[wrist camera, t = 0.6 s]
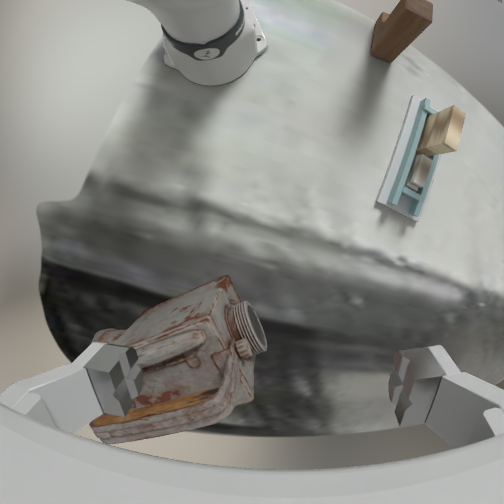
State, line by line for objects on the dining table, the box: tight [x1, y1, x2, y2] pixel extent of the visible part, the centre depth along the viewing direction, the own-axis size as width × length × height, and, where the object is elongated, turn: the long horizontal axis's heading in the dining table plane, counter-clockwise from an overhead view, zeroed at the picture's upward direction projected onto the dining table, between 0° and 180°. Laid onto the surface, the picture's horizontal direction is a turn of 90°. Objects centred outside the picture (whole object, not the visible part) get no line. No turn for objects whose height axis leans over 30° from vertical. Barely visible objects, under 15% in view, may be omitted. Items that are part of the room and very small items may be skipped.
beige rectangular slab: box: [416, 105, 466, 157], centre depth 43 cm, size 7×2×11 cm, turn 158°
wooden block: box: [371, 0, 433, 62], centre depth 37 cm, size 9×4×18 cm, turn 165°
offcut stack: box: [404, 154, 433, 191], centre depth 48 cm, size 6×2×4 cm, turn 158°
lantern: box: [89, 275, 267, 444], centre depth 42 cm, size 16×27×30 cm, turn 114°
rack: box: [376, 95, 441, 222], centre depth 48 cm, size 22×9×4 cm, turn 158°
